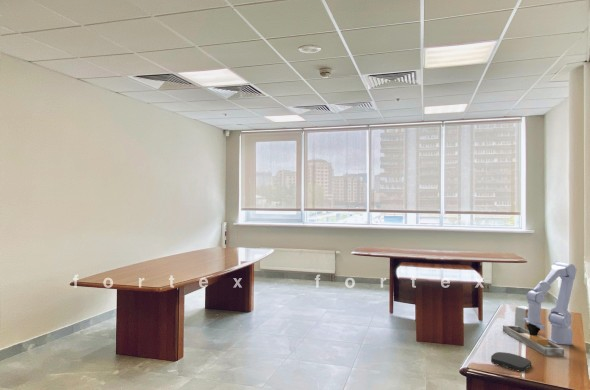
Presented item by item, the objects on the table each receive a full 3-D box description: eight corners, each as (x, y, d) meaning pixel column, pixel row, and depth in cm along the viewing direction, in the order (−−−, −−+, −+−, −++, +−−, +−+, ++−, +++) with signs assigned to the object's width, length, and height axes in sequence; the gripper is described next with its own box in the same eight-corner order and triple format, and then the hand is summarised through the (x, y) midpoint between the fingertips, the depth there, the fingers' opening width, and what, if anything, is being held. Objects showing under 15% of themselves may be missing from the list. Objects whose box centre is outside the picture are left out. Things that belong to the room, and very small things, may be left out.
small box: (524, 331, 235) (526, 309, 235) (514, 328, 240) (515, 306, 240) (531, 329, 239) (532, 308, 240) (521, 326, 245) (522, 305, 245)
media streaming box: (500, 355, 193) (500, 349, 193) (533, 365, 182) (533, 359, 182) (488, 362, 183) (488, 356, 183) (522, 373, 172) (523, 367, 172)
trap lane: (519, 332, 232) (519, 326, 232) (563, 356, 196) (564, 349, 197) (502, 331, 232) (503, 325, 232) (544, 355, 196) (545, 348, 196)
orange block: (540, 341, 211) (540, 335, 211) (547, 345, 205) (548, 339, 205) (529, 340, 211) (529, 335, 211) (536, 345, 205) (537, 339, 205)
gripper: (518, 309, 220) (517, 333, 220) (536, 317, 205) (534, 343, 205) (530, 309, 220) (529, 334, 220) (549, 317, 206) (547, 343, 205)
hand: (533, 338), depth 213 cm, fingers closed
